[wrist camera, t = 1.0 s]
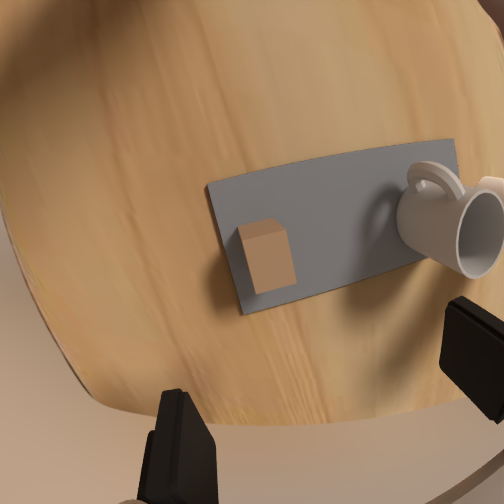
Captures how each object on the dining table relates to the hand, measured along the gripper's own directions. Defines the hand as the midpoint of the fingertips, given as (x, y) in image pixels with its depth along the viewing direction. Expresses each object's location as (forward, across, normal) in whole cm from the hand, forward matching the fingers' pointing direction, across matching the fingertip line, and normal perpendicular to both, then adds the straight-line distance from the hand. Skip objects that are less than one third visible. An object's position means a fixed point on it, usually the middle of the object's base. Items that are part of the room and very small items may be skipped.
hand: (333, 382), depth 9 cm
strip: (+18, -10, 0) cm, 20 cm away
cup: (+17, -16, 0) cm, 24 cm away
